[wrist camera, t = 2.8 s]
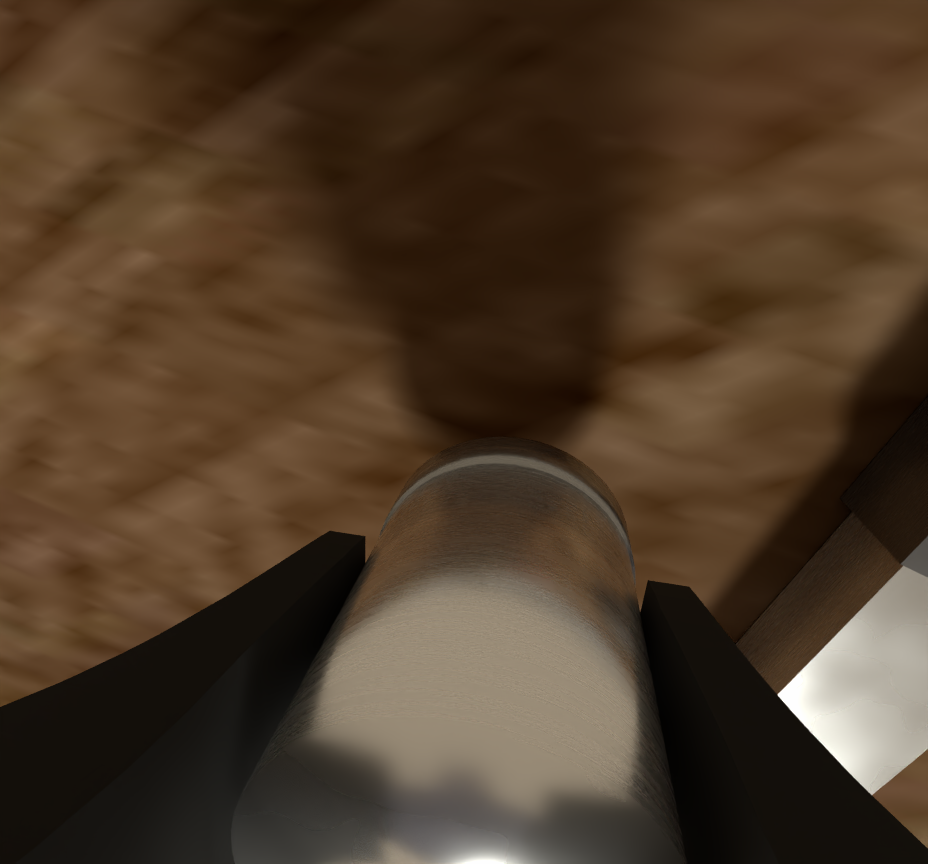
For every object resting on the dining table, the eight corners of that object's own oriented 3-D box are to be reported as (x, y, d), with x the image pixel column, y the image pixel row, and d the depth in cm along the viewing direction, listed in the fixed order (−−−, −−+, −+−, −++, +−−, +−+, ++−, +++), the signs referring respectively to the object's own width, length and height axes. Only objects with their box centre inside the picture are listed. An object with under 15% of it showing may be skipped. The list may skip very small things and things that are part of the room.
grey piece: (610, 1043, 21) (615, 1149, 19) (366, 931, 21) (341, 1024, 19) (1372, 449, 10) (1613, 524, 8) (876, 205, 10) (972, 208, 8)
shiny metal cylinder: (650, 453, 10) (762, 779, 4) (607, 657, 12) (649, 1074, 6) (393, 422, 10) (202, 676, 5) (389, 621, 12) (245, 974, 7)
